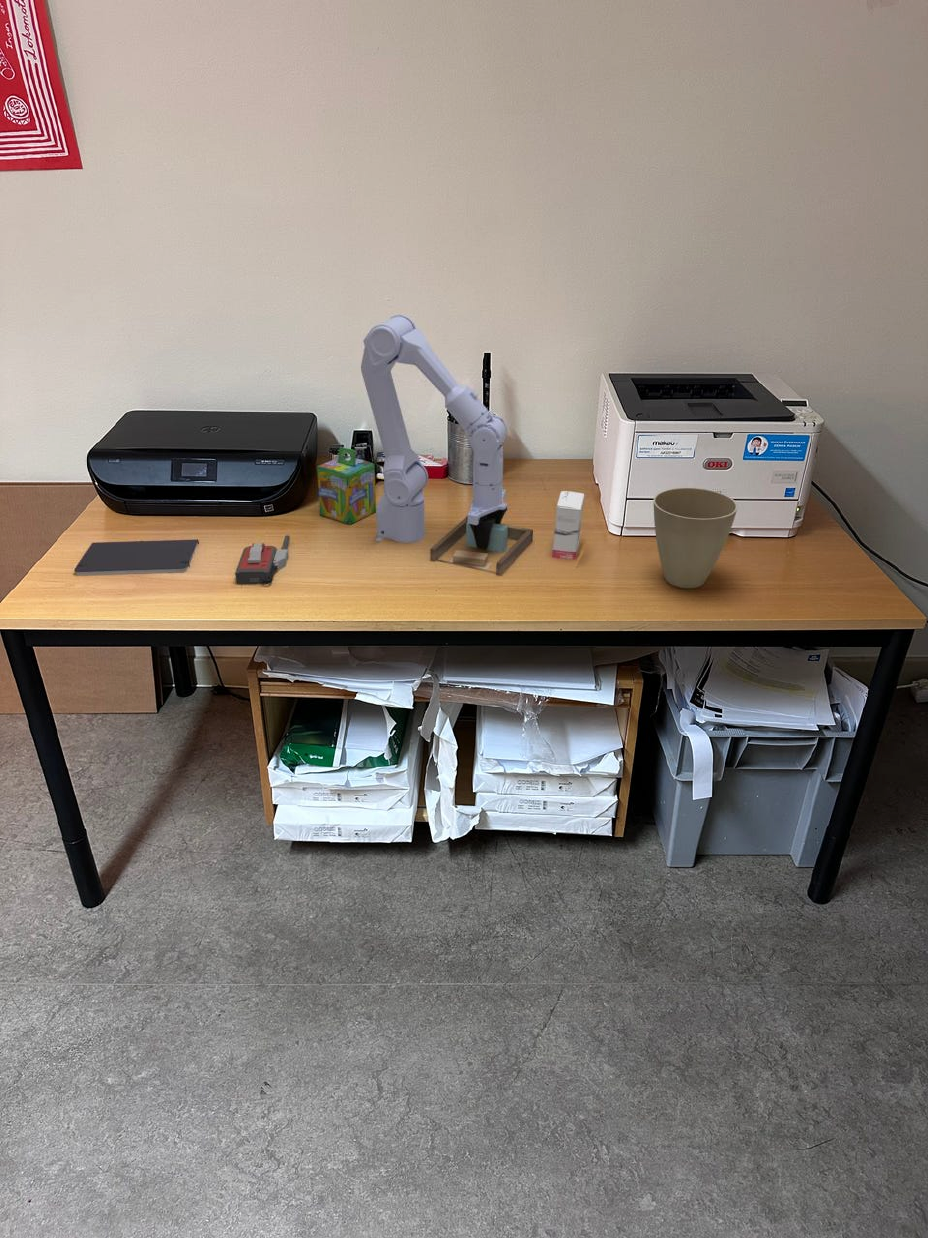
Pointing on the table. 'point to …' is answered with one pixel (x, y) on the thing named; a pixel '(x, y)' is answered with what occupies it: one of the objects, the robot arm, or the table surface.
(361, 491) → the chalk box
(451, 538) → the rack
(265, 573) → the walkie-talkie
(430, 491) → the table surface
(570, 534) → the ink box
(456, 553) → the offcut upper
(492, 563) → the offcut lower
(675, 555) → the plant pot
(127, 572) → the notebook
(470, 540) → the teal rectangular block
